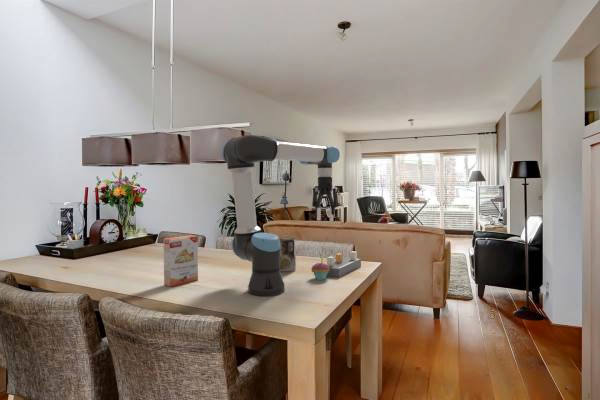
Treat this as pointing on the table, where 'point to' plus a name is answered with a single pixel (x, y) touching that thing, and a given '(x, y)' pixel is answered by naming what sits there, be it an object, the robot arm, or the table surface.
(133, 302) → the table surface
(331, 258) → the switch
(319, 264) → the cupcake
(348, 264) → the power bar
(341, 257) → the switch
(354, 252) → the switch
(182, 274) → the cracker box
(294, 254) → the coffee box
